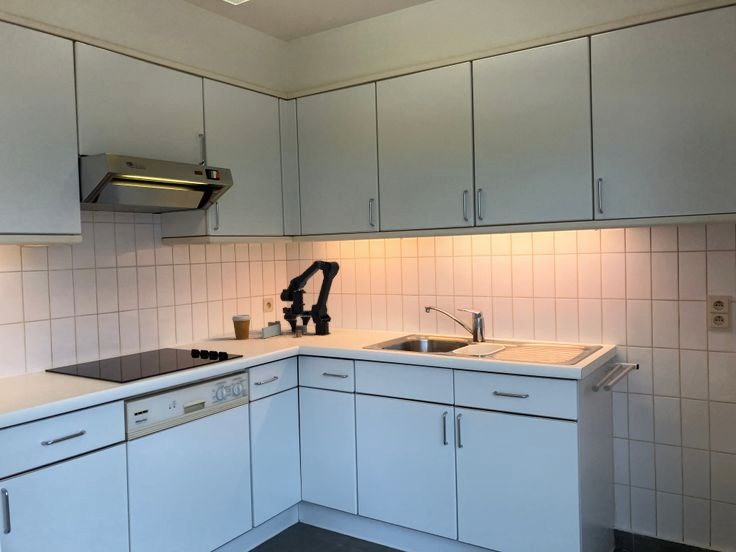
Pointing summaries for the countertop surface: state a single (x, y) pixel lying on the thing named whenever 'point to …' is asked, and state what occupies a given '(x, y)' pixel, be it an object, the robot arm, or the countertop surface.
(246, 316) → the disposable coffee cup
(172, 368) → the countertop surface
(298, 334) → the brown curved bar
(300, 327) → the grey rectangular block
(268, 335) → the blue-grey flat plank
